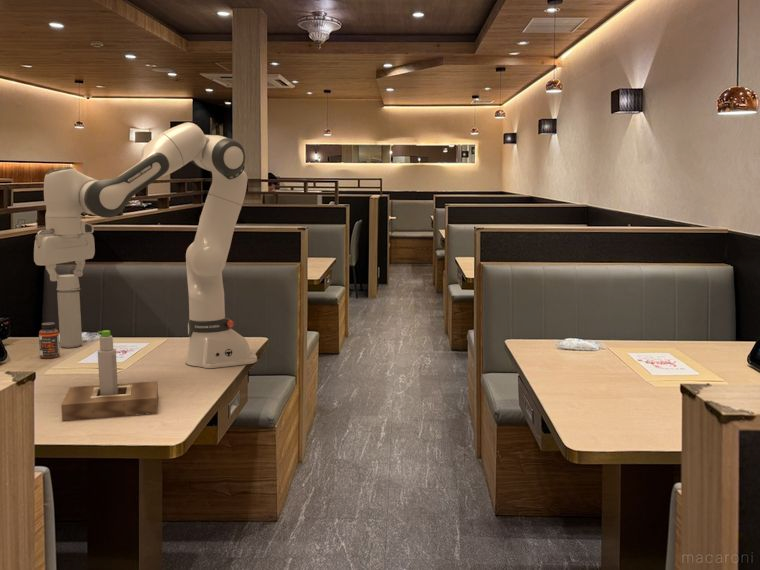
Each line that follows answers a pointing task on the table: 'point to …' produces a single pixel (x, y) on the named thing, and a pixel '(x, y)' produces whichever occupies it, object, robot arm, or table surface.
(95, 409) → the socket board
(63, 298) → the water bottle
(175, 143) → the robot arm
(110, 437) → the table surface
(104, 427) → the table surface
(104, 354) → the bottle
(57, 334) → the supplement bottle
